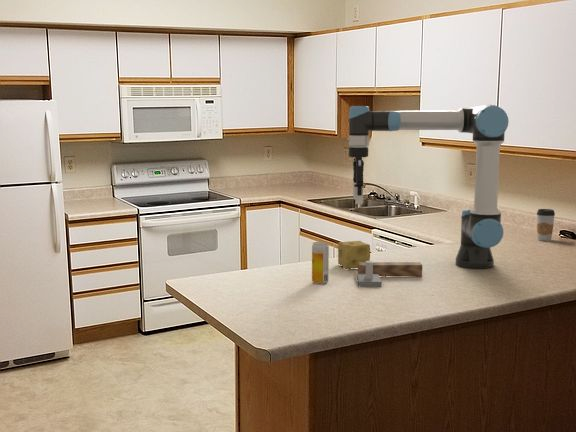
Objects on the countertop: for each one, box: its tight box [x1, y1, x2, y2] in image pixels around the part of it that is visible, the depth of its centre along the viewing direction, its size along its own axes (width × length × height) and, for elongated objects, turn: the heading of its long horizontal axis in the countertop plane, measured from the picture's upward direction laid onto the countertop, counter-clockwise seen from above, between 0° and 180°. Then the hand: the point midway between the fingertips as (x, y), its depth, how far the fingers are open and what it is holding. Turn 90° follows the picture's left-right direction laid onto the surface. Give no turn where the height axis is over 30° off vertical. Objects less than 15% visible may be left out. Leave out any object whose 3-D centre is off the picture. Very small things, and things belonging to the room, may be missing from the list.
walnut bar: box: [357, 261, 423, 278], centre depth 264 cm, size 24×5×5 cm, turn 90°
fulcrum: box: [356, 260, 383, 288], centre depth 252 cm, size 8×12×8 cm, turn 178°
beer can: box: [311, 241, 330, 286], centre depth 252 cm, size 6×6×15 cm
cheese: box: [337, 240, 371, 270], centre depth 279 cm, size 10×11×10 cm
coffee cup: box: [536, 208, 556, 242], centre depth 334 cm, size 8×8×15 cm
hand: (357, 201), depth 266 cm, fingers open, 13 cm apart
